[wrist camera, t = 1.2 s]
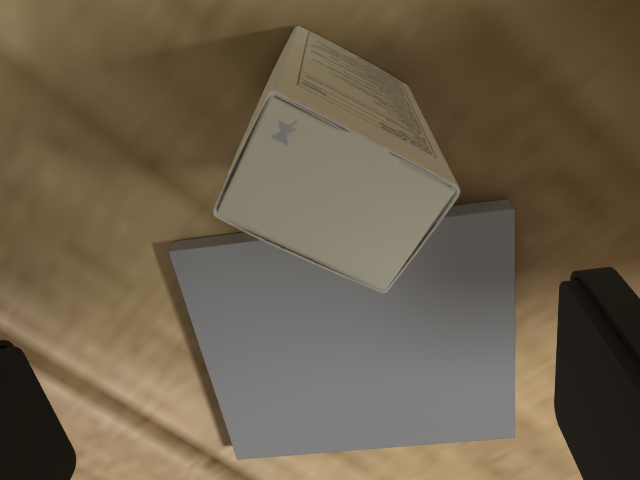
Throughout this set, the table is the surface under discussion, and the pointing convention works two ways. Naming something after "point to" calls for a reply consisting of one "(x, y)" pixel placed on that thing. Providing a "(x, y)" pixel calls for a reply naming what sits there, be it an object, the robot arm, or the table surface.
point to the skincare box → (338, 166)
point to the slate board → (358, 341)
